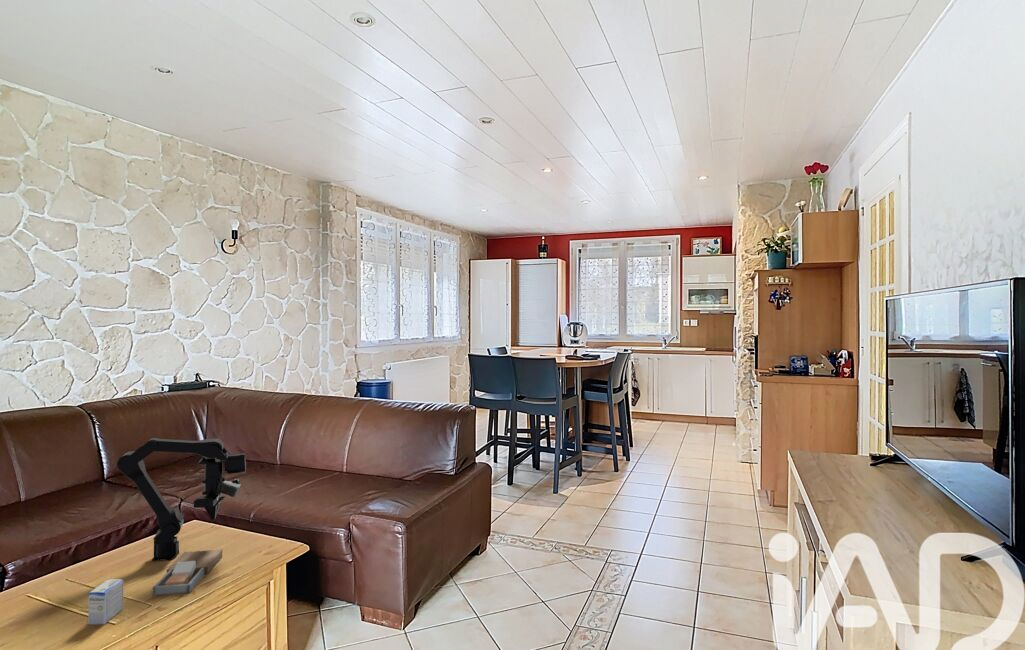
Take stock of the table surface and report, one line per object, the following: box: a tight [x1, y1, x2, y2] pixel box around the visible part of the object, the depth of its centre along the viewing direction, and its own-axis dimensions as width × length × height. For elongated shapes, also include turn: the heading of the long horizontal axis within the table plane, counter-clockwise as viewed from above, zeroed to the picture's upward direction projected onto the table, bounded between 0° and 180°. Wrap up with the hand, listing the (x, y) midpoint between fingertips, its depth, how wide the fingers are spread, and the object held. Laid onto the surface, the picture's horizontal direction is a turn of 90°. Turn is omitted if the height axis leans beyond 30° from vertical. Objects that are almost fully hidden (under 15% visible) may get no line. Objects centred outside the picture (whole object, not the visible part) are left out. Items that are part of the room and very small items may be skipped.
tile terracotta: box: [165, 574, 189, 585], centre depth 169 cm, size 5×5×2 cm
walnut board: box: [166, 549, 223, 576], centre depth 184 cm, size 12×14×2 cm
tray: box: [152, 568, 205, 596], centre depth 171 cm, size 10×12×2 cm
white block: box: [172, 561, 196, 578], centre depth 174 cm, size 5×5×2 cm
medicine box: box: [87, 578, 124, 626], centre depth 152 cm, size 8×4×9 cm, turn 5°
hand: (213, 519), depth 197 cm, fingers closed
